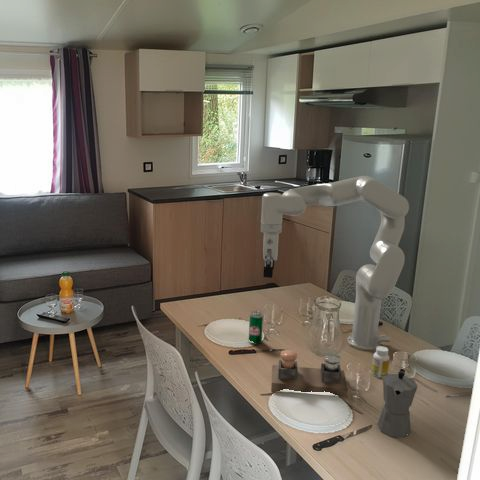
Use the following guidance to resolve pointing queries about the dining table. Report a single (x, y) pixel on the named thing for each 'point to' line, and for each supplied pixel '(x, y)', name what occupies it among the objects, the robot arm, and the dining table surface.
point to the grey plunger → (331, 362)
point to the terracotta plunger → (288, 359)
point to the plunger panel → (309, 379)
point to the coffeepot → (397, 404)
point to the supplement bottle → (380, 362)
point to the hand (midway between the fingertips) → (268, 273)
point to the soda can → (256, 327)
